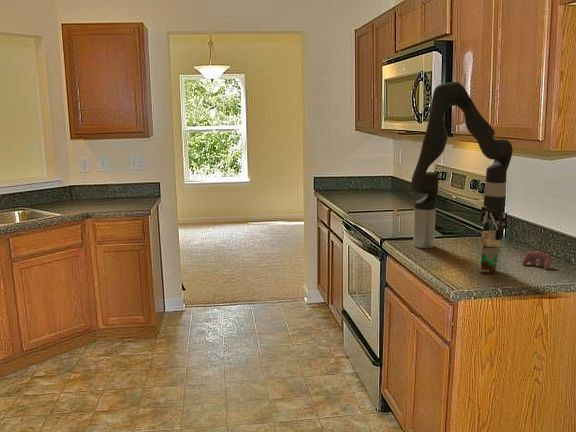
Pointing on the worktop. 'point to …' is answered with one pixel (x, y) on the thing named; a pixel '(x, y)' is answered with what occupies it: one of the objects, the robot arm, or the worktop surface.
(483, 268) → the food container
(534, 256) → the pink toy figure
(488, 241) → the birch cube
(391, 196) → the worktop surface
